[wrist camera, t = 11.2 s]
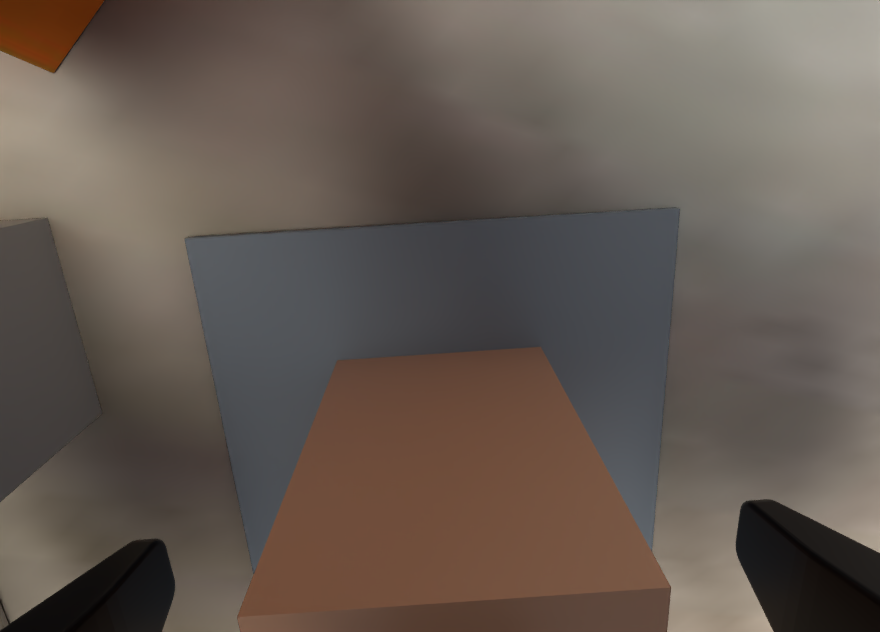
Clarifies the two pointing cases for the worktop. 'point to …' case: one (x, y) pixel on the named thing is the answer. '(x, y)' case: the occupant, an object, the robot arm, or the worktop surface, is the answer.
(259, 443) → the mat
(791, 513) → the robot arm
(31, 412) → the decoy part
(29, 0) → the alarm clock
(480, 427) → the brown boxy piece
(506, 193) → the worktop surface
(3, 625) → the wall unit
